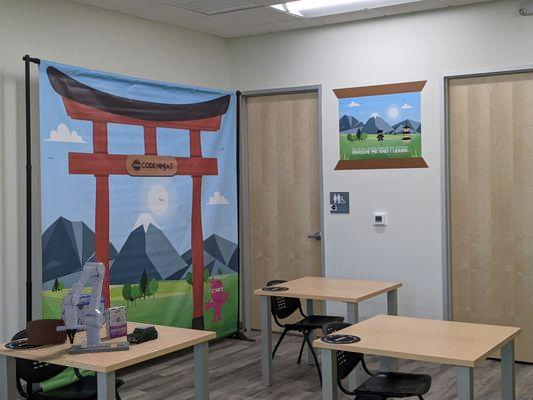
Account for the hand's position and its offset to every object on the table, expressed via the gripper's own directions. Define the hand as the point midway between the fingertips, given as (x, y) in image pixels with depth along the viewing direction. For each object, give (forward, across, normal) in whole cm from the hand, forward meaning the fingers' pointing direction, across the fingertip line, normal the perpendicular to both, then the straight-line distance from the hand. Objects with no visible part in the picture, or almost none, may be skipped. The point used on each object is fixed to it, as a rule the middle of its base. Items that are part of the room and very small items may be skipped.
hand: (71, 343), depth 367 cm
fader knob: (+2, +6, 0) cm, 6 cm away
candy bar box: (+4, +22, +33) cm, 40 cm away
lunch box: (+4, +2, +61) cm, 62 cm away
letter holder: (+4, -15, +28) cm, 32 cm away
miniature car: (+4, +36, +17) cm, 40 cm away
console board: (+4, +14, +2) cm, 15 cm away
